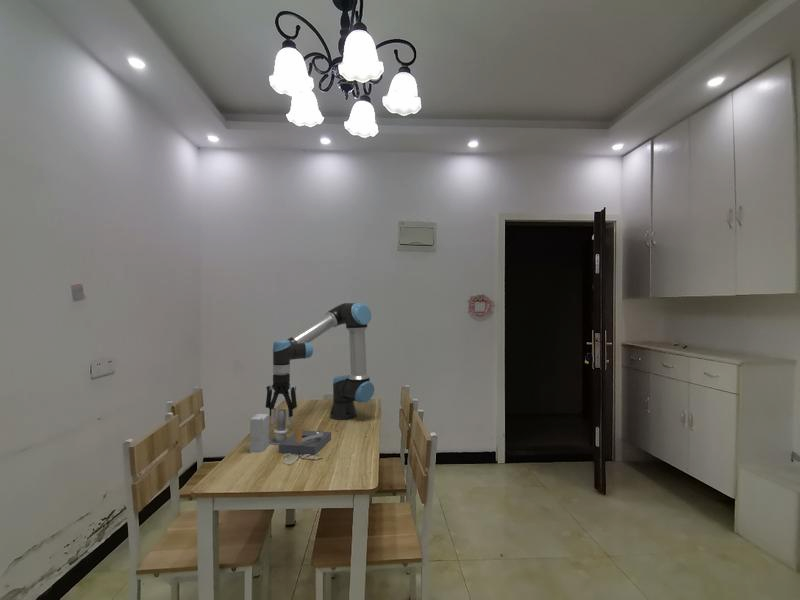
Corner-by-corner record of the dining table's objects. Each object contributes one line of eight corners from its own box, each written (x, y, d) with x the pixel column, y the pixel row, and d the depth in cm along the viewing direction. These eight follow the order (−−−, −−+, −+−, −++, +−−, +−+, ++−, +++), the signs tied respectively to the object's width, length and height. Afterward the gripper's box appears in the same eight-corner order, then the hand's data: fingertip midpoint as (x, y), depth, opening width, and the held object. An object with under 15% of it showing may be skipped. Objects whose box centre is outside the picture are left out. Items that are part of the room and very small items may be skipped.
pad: (276, 438, 189) (276, 436, 189) (295, 439, 187) (295, 437, 187) (265, 445, 179) (265, 443, 179) (286, 446, 177) (286, 445, 177)
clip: (291, 440, 168) (291, 425, 168) (318, 432, 178) (318, 419, 178) (298, 442, 165) (298, 428, 165) (325, 435, 175) (325, 421, 175)
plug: (270, 442, 180) (271, 411, 181) (277, 437, 187) (278, 408, 188) (284, 443, 179) (285, 412, 180) (291, 439, 186) (292, 408, 186)
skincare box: (256, 446, 177) (256, 413, 178) (269, 446, 177) (270, 413, 177) (249, 453, 169) (249, 418, 169) (263, 453, 169) (263, 418, 169)
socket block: (298, 438, 188) (298, 426, 188) (330, 440, 185) (331, 427, 185) (279, 454, 168) (279, 440, 168) (314, 456, 166) (314, 442, 166)
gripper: (257, 374, 182) (256, 424, 181) (298, 375, 178) (297, 426, 178) (265, 371, 189) (265, 420, 189) (304, 372, 186) (304, 422, 185)
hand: (281, 423), depth 183 cm, fingers open, 7 cm apart
